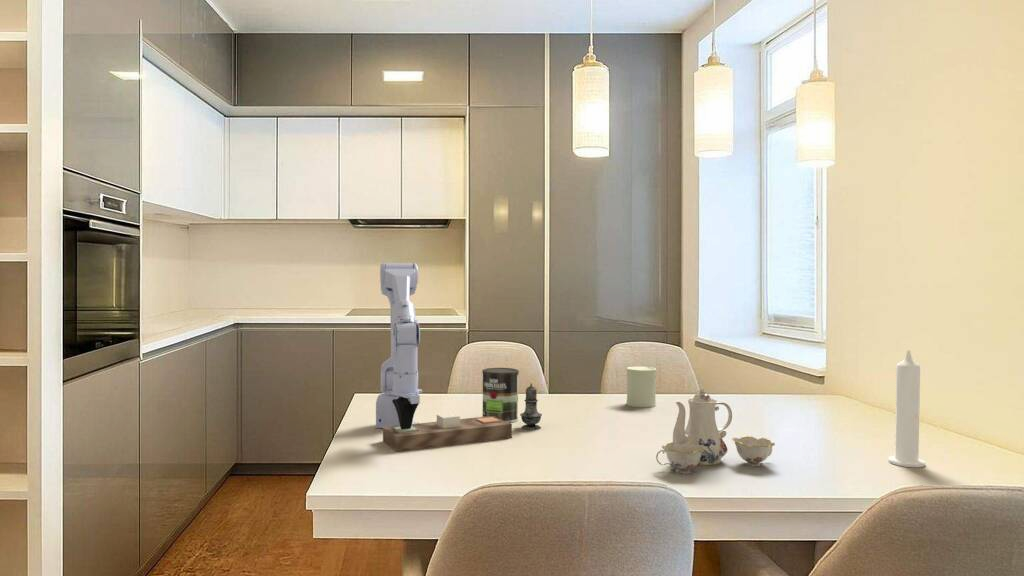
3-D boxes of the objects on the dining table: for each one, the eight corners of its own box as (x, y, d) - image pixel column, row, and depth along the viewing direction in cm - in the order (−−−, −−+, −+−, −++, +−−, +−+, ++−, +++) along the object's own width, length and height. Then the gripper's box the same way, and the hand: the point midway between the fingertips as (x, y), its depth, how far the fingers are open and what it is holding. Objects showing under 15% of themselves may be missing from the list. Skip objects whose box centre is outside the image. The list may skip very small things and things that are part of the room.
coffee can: (510, 425, 189) (510, 373, 189) (476, 421, 193) (476, 371, 193) (524, 417, 199) (524, 368, 198) (491, 414, 203) (491, 366, 202)
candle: (881, 459, 156) (883, 348, 155) (911, 458, 156) (913, 348, 156) (901, 468, 149) (903, 351, 148) (932, 467, 149) (934, 351, 149)
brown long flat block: (396, 451, 161) (396, 436, 161) (383, 441, 171) (383, 427, 171) (511, 437, 175) (511, 423, 175) (492, 428, 184) (492, 415, 184)
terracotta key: (484, 434, 175) (484, 422, 175) (476, 431, 179) (476, 418, 179) (499, 432, 177) (499, 420, 177) (492, 429, 181) (492, 417, 181)
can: (658, 407, 214) (658, 368, 214) (628, 407, 214) (628, 368, 214) (652, 402, 223) (653, 364, 223) (624, 401, 223) (624, 364, 223)
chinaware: (678, 489, 139) (684, 408, 137) (632, 459, 155) (637, 387, 153) (784, 473, 151) (791, 398, 149) (732, 447, 166) (738, 379, 164)
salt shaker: (540, 430, 182) (540, 385, 182) (518, 429, 184) (518, 384, 183) (543, 425, 188) (543, 381, 188) (522, 424, 189) (522, 381, 189)
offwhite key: (443, 431, 170) (443, 418, 170) (436, 427, 174) (436, 414, 173) (459, 429, 172) (459, 416, 172) (452, 425, 176) (452, 413, 175)
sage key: (399, 444, 165) (399, 431, 165) (394, 440, 169) (394, 427, 168) (417, 442, 167) (417, 429, 167) (411, 438, 171) (411, 425, 170)
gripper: (432, 375, 163) (432, 433, 163) (411, 367, 175) (411, 421, 176) (403, 377, 159) (403, 436, 160) (384, 369, 172) (384, 424, 172)
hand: (405, 428), depth 167 cm, fingers closed, pressing on sage key
